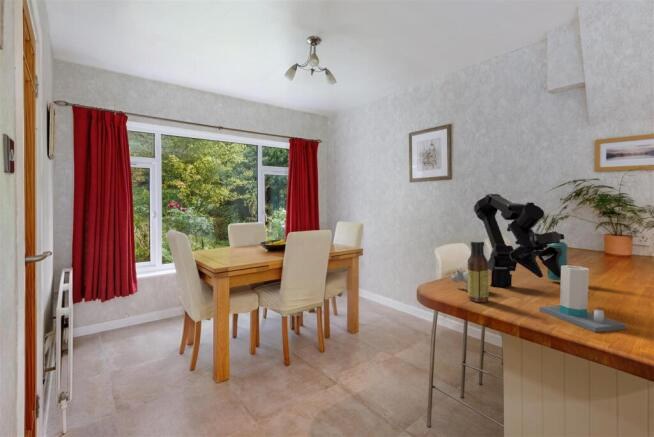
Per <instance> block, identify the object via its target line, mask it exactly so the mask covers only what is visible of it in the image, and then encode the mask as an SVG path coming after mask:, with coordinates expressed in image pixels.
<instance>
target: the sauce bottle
mask: <svg viewBox="0 0 654 437" xmlns="http://www.w3.org/2000/svg"><path fill="white" fill-rule="evenodd" d="M484 247H485V241H483V240H471V241H470V248H471V249H470V251H471V252H470V256H469V258H468V259H467V270H468V291H467V296H468V299H469V300H470V301H471V302H474V303H487V302H489V269H488V261H489V260H488V259H487V258H486V256H485V252H484V250H485V249H484Z"/></svg>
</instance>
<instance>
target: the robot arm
mask: <svg viewBox="0 0 654 437" xmlns="http://www.w3.org/2000/svg"><path fill="white" fill-rule="evenodd" d="M473 211H474V213H475V215H476V216H477V218H478V219H479V220H480V221H482V222H483V225H484V228H485V230H486V234H487V237H488V239H489V242H490V243H489V244H490V246H491V248H492V250H491V252H490V255H489V256H490V257H489V259H488V260H487V261H488V271H489V270H490V271H491V273H490V274H491V277H490V278H491V282H490V285H489V286H490V287H498V288H504V289H505V288H506V289H510V288H511V287H512V283H513V274H511V272H516V270H517V269H516V268H517V264H519V265H521V266H522V267H524V268H525V269H526V270H528V271H529V272H531V273H533V275H535V276H536V277H537V278H539V279H542V278H543V277H544V274H543V273H542V270H541V267H540V265H539V264H538V262H537V259H536V258H539V260H540V261H541V264H543V265H544V266H545V267H546V268H547V270H548V269H549V270H550V271H551V272H552V273H554V274H555V275H556V276H557V277H558V278H560V277H561V270H560V266H559V258H560V257H561V256H562V254H563V251H562V250H561V248H559V247H549V245H548V244H553V243H560V242H561V240H562V239H561V238H562V236H560V234H561V233H558V232H557V231H554V230H553V231H549V232H544V233H538V232H537V233H535V231H534V230H533V228H534V227H536V225H538V223H539V222H540V221H541V220H542V219H543V218H544V216H545V211H544V209H542V208H541V207H540V206H538V205H535V203H534V202H526V203H524V204H523V203H520V202H518V203H517V202H512V201H510V200H508V199H506V198H505V197H503V196H502V195H501V194H500V193H488V194H486V195H485V196H484V197H483V198H481V199H479V200H477V202H476V203H475V204H474V206H473ZM498 211H500V212H501V214H500V216H501V217H502V218H503V219H504V220H505V221H511V223H508V225H507V227H506V231H507V232H511V233H512V234H513V236H514V238H515V240H516V241H515V242H514V243H515V244H516V245H519V246H517V247H515V248H513V246H512V245H507V244H506V242H505V240H504V237H503V235H502V231H501V229H500V226H499V223H498V220H497V217H496V215H497V213H498Z"/></svg>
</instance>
